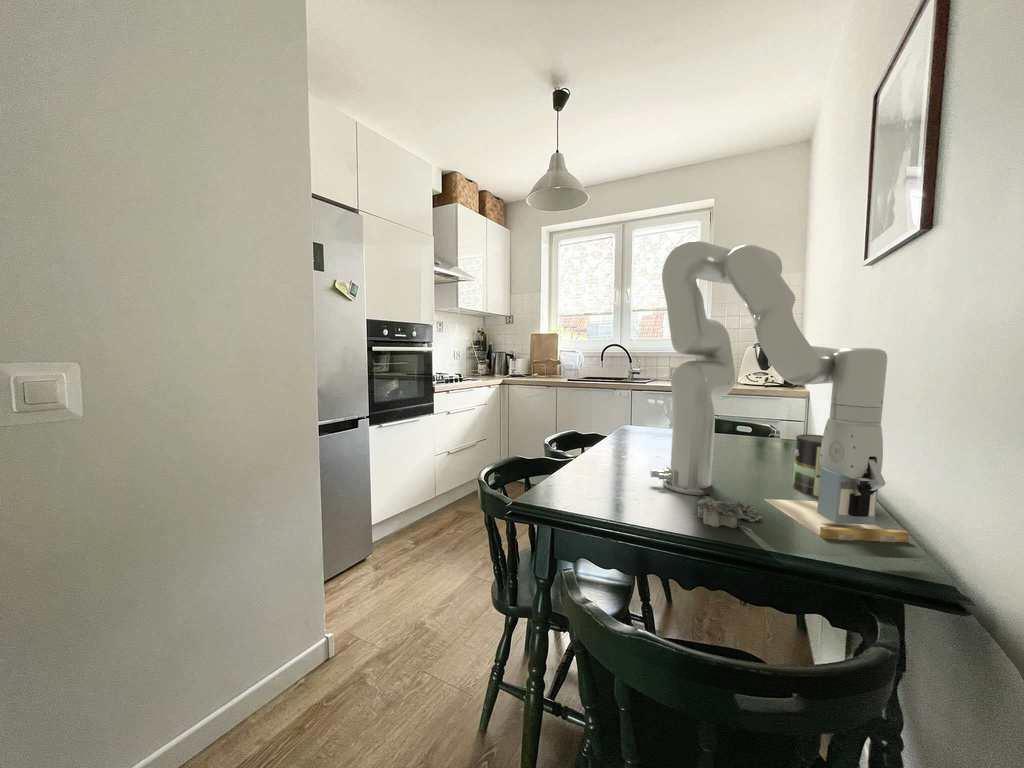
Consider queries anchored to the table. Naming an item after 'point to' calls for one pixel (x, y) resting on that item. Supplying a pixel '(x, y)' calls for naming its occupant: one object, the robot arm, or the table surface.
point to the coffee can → (807, 464)
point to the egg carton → (726, 513)
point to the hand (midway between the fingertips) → (846, 508)
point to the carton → (841, 499)
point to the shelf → (835, 524)
